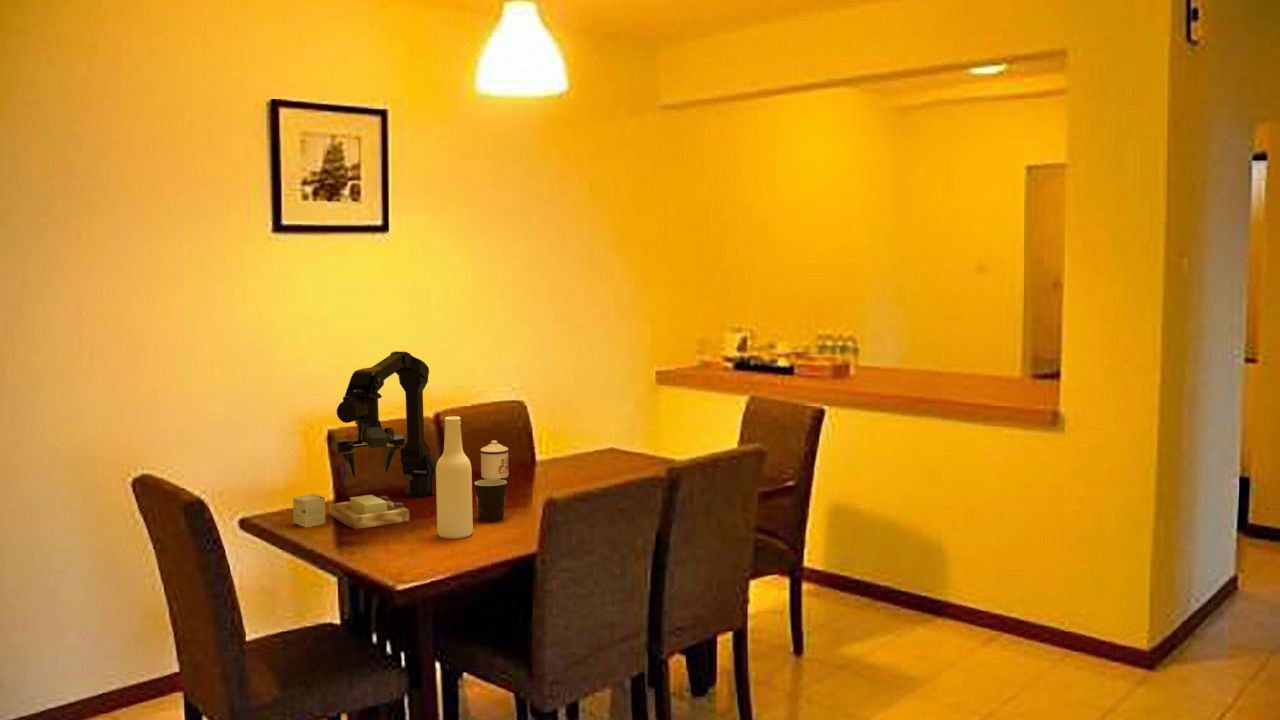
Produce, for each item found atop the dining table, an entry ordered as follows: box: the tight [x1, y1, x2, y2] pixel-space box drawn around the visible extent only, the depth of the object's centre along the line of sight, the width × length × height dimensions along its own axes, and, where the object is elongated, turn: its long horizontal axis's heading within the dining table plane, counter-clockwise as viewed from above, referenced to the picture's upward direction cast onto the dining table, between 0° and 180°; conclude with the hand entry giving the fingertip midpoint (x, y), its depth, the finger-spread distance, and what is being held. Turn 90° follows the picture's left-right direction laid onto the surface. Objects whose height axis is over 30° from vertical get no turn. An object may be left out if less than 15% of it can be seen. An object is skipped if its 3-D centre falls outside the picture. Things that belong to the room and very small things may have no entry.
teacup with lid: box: [479, 439, 510, 480], centre depth 342 cm, size 12×9×12 cm
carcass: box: [328, 495, 410, 530], centre depth 287 cm, size 15×19×4 cm
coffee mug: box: [473, 479, 508, 523], centre depth 286 cm, size 12×9×10 cm
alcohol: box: [435, 415, 474, 540], centre depth 268 cm, size 9×9×30 cm
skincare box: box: [292, 493, 326, 528], centre depth 281 cm, size 6×6×7 cm
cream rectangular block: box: [349, 494, 387, 515], centre depth 287 cm, size 6×11×4 cm, turn 35°
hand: (369, 474), depth 288 cm, fingers open, 9 cm apart
